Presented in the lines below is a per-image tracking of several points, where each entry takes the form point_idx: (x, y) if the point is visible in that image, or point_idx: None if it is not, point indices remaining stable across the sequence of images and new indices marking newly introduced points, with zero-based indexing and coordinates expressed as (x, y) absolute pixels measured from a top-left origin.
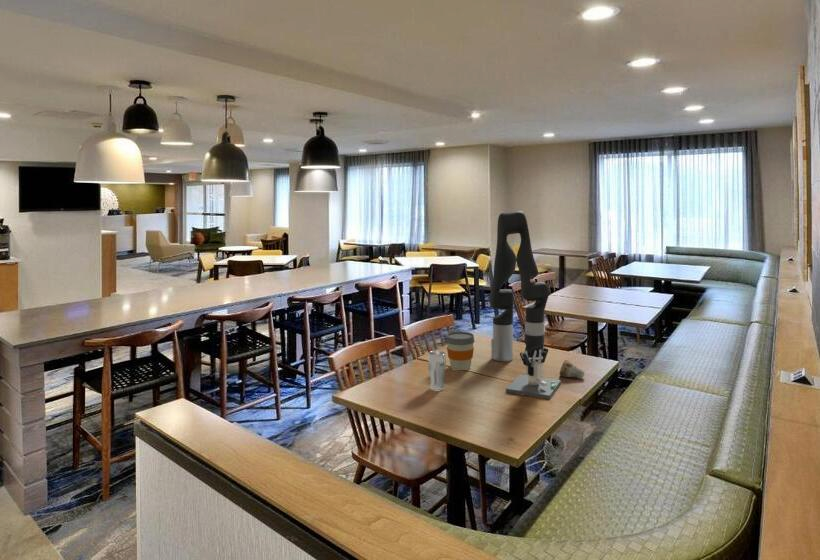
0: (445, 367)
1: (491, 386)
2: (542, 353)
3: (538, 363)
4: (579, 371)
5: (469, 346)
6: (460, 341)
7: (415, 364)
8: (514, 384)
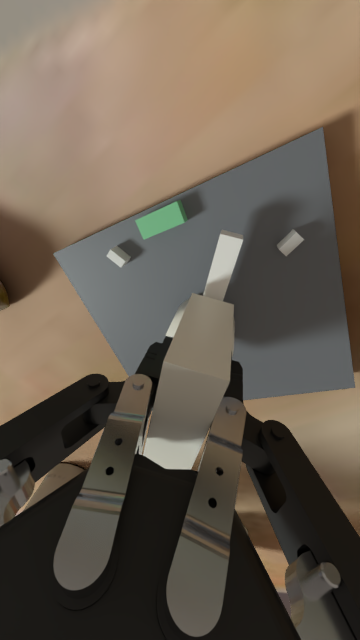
0: None
1: (313, 435)
2: (37, 461)
3: (185, 391)
4: None
5: None
6: None
7: (277, 585)
8: (272, 382)
